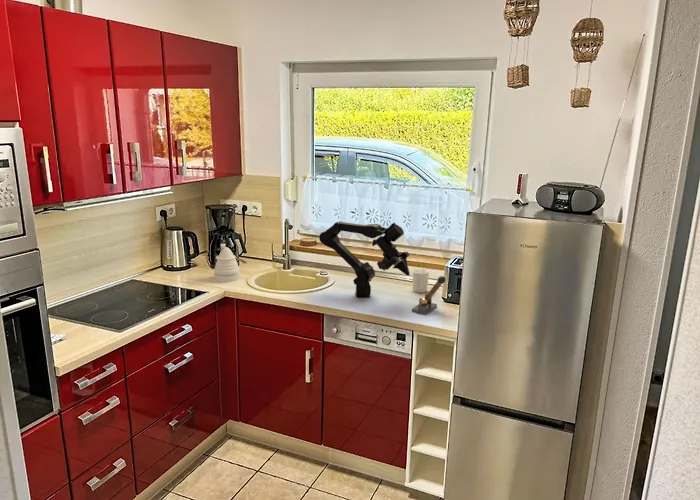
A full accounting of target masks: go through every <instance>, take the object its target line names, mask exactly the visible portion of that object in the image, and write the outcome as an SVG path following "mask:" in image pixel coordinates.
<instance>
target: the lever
mask: <svg viewBox="0 0 700 500" xmlns="http://www.w3.org/2000/svg"><path fill="white" fill-rule="evenodd" d="M444 283H446V277H445V276H443V275H441V276H439V277H438V278H437V281H436V282H435V284H434V285H433V286H432V287H431V289H430V290H429V291H428V292H427V293H426V294H427V295H426V297H425V296H424V298H425V299H427V303H428V301H429V300H430V299H431V298H432V297H433V296H434V295H435V294H436V292H437V291H438V290H439V288H441V286H442V285H443V284H444ZM432 299H433V298H432Z"/></svg>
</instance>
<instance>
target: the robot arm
mask: <svg viewBox="0 0 700 500" xmlns="http://www.w3.org/2000/svg"><path fill="white" fill-rule="evenodd" d="M341 232H347V233H353V234H360V235H363V236H364V237H366V238H369V239H373V240H372V243H371V244H372V247H374V246H376V245H377V246H378V248H379V249H380V250H381V252H382V256H383V259H381V260H379V261H377V263H376V266H377V267H378V268H379V270H383V271H386V270H387V271H388V270H390V269H391V267H392V269H398V270H399V271H400V272H401V273H403V274H405V276H407V277H408V276H410V275H411V274H410V270H409V265H408V261H407V260H408V257H410V254H409V253H410V252H408V251H402V252H401V251H399V250H398V249H397V245H396V244H393V243H395V242H396V241H397V240H399V238H401V237H403V235H405V231H404V229H403V228H402V227H401V226H399V225H398V224H396V222H392V223H391V224H390V225H389V226H388V227H387V228H386V227H383V226H382V225H381V224H379V223H371V224H370V223H369V224H360V223H353V222H351V223H350V222H344V221H342V220H341V221H337V222H335V223H334V224H333V225H331V226H330V227H329V228H327V229H326V230H325V231H323V232H321V233H320V234H319V236H318V238H319V242H320V243H321V244H322V245H324V246H325V247H327V248H331V250H334V251H335V252H336V254H338V256H340V257H341V258H342V260H344V261H345V262H346V263H347V264H348V266H350V267H351V268H352V269H353V270H354V273H355V276H356V277H355V278H354V279H353V283H354V284H353V285H355V292H354V294H355V298H370V297H371V295H372V294H371V293H372V292H371V291H372V290H371V289H372V285H371V282H372V280H373V279H374V278H375V275H376V271H375V269H374V266H372V265H370V263H369V262H368V261H366V262H362V261H361V260H360V259H358V257H356V256H355V255H354V254H353V253H352V252H351V251H350V250H349V249H348V248H347V247H346V246H345V245H344V244H343V243H342V242H341V240H340V238H339V234H340V233H341ZM376 238H377V239H376Z"/></svg>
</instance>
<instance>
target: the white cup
mask: <svg viewBox="0 0 700 500" xmlns="http://www.w3.org/2000/svg"><path fill="white" fill-rule="evenodd" d="M429 276H430V271H429V270H428V269H424V268H414V269H413V270H412V290H413V292H414V293H421V294H422V293H426V292H427V291H428V283H429Z"/></svg>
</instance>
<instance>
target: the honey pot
mask: <svg viewBox="0 0 700 500" xmlns="http://www.w3.org/2000/svg"><path fill="white" fill-rule="evenodd" d="M226 245H227V244H226V243H220V247H221V250H220V253H219V255H216V256H215V259H216V262H215V266H214V269H213V272H214V273H213V278H214V279H215V280H216V281H215V280H214V281H215V282H217V281H219V282H218V283H232V282H233V281H234V282H237V281H239V280H240V279H241V275H240V274H241V273H240V272H241V271H240V267H239V265H238V261H237V259H236V257H237V256H236V255H234V253H233V252H232V250H231V249H230V248H229V247H227V246H226ZM234 282H233V283H234Z"/></svg>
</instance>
